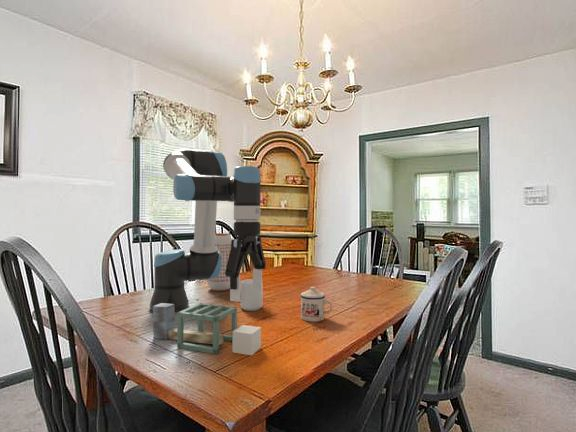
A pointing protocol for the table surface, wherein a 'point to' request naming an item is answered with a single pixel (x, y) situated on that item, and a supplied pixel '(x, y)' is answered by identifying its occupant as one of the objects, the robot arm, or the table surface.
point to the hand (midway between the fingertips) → (247, 295)
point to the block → (246, 339)
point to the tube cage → (201, 317)
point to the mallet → (166, 326)
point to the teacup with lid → (313, 305)
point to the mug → (250, 296)
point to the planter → (224, 248)
